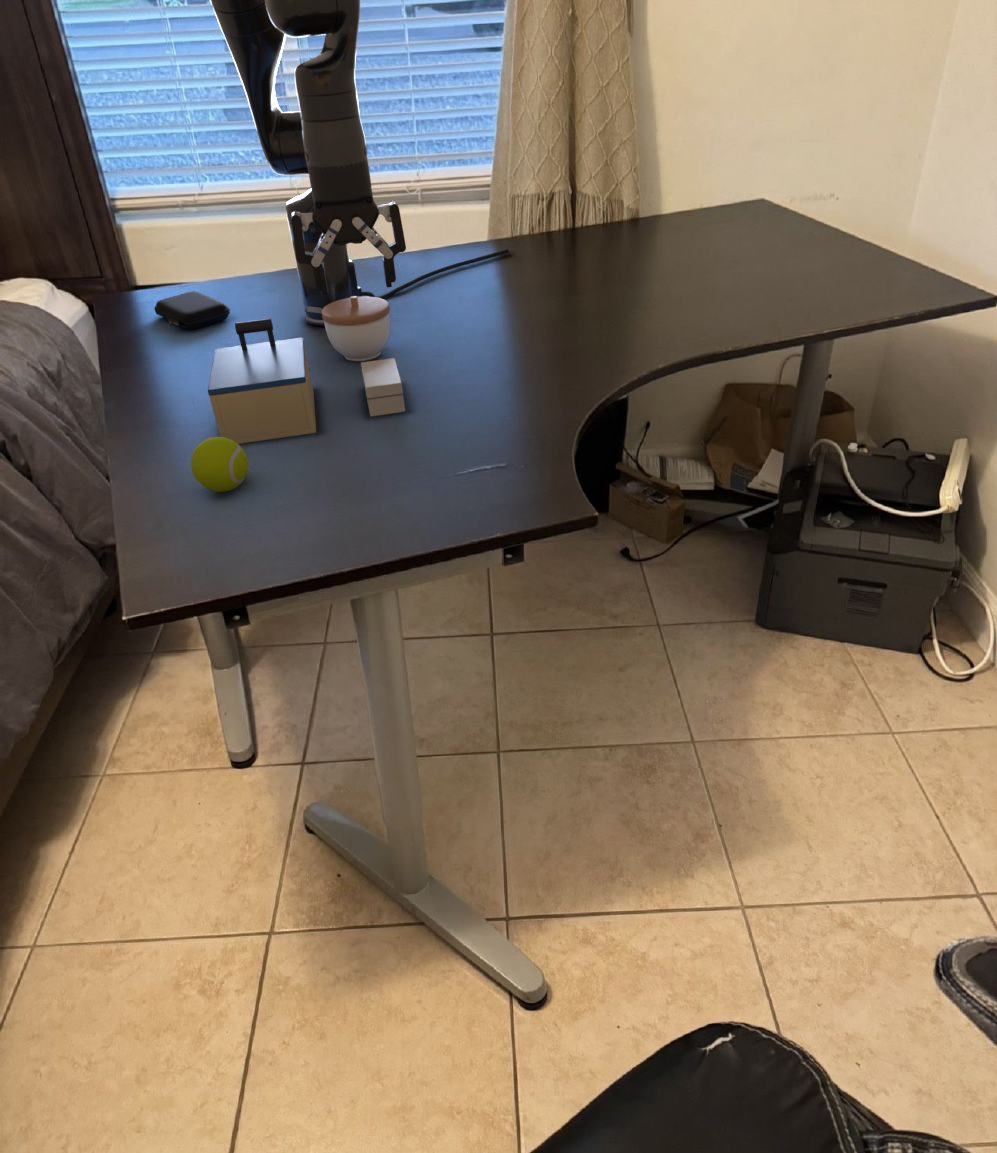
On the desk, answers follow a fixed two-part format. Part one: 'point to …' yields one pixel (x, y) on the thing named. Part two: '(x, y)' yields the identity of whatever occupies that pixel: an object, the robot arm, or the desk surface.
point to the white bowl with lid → (358, 326)
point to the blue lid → (257, 362)
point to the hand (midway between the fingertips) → (357, 289)
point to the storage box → (266, 412)
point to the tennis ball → (219, 464)
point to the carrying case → (192, 310)
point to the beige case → (383, 387)
